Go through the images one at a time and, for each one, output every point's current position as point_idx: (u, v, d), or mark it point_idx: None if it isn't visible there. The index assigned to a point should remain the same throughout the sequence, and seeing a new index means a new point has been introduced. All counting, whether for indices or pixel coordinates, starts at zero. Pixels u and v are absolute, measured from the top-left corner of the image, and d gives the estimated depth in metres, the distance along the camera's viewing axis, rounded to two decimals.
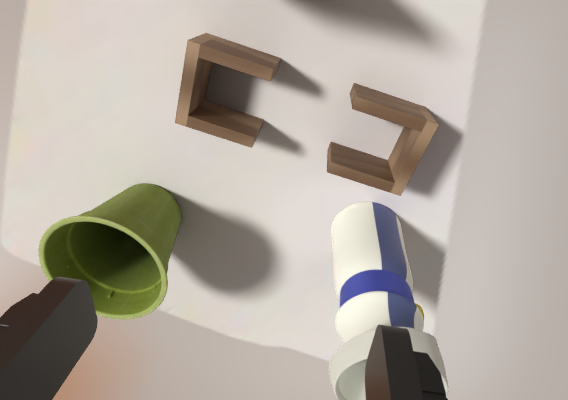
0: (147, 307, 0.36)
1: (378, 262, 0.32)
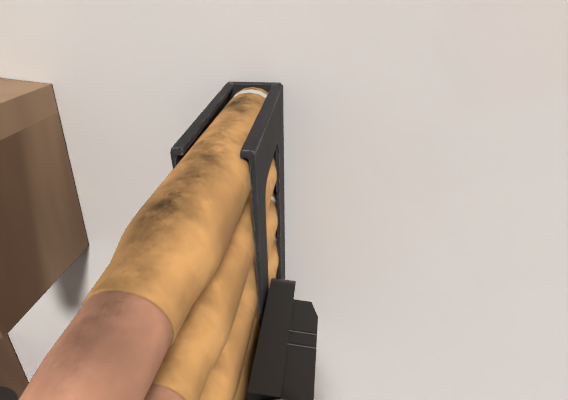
0: None
1: None
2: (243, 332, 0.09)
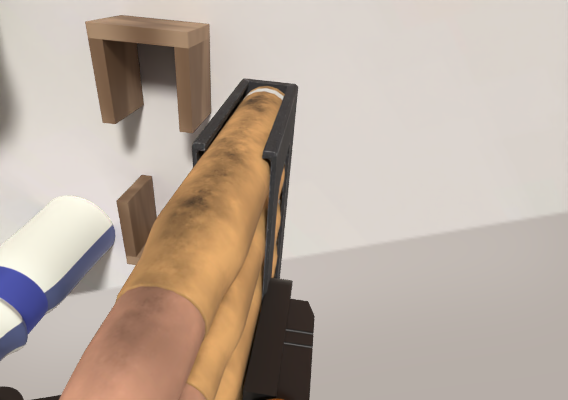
0: None
1: (49, 284, 0.32)
2: (249, 330, 0.09)
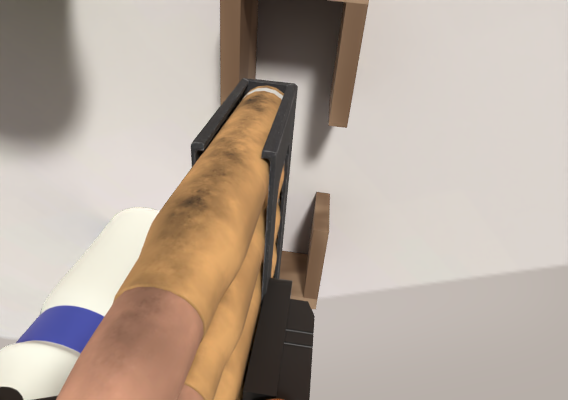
0: None
1: None
2: (248, 331, 0.09)
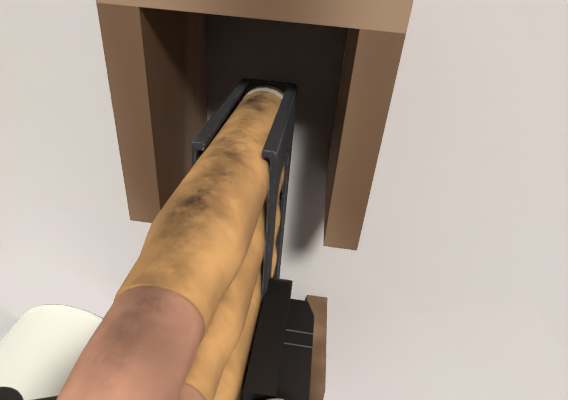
0: None
1: None
2: (248, 331, 0.09)
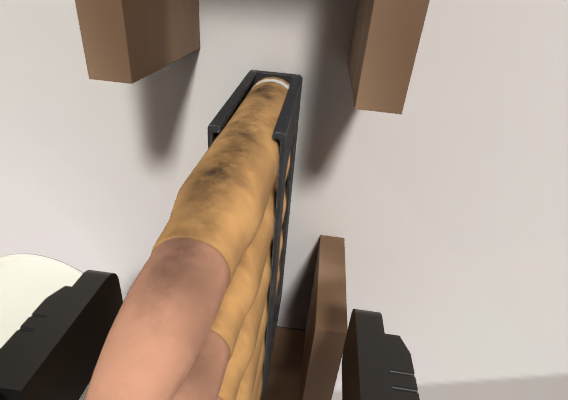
0: None
1: None
2: (260, 300, 0.10)
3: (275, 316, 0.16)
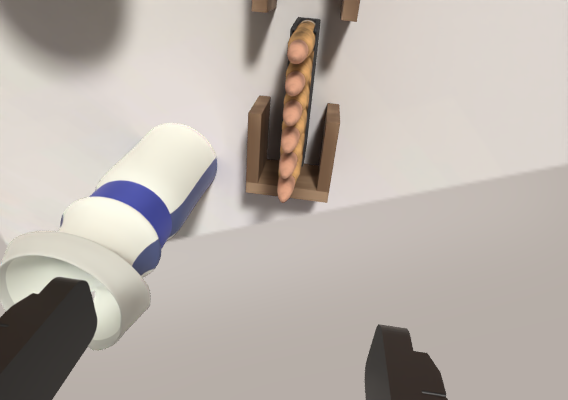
0: None
1: (174, 205, 0.29)
2: (307, 94, 0.26)
3: (306, 140, 0.32)
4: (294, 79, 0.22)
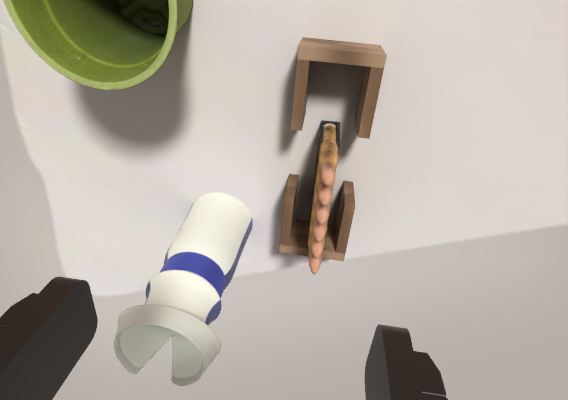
0: (58, 62, 0.27)
1: (227, 268, 0.37)
2: None
3: None
4: (326, 192, 0.30)
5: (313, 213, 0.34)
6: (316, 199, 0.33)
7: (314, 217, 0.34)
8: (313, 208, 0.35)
